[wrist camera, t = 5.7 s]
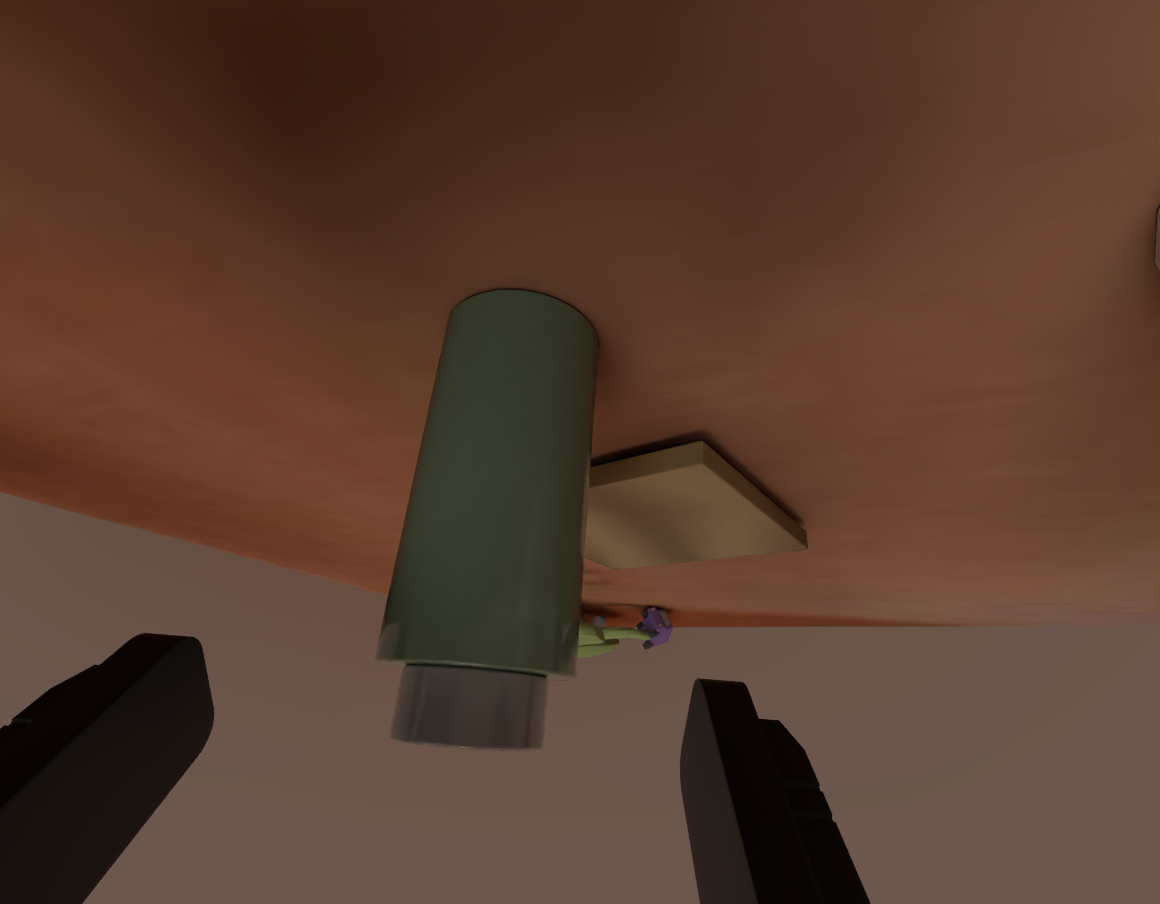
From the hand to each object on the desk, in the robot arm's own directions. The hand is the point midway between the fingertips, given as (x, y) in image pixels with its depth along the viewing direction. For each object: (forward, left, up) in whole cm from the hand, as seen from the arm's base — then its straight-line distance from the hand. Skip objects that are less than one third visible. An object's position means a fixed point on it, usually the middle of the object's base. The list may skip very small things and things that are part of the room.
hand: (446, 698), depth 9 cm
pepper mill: (-2, -2, -10) cm, 10 cm away
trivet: (-6, -16, -10) cm, 20 cm away
